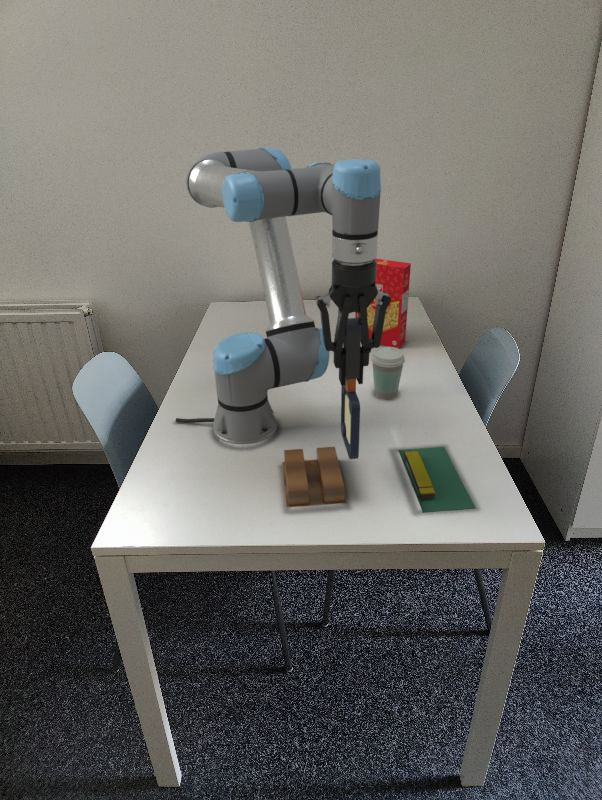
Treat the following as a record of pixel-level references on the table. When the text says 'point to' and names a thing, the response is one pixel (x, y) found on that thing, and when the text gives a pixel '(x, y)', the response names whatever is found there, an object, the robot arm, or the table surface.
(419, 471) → the harmonica
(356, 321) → the racket
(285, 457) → the stand
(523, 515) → the table surface
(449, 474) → the mat
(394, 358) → the coffee cup
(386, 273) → the food packaging
